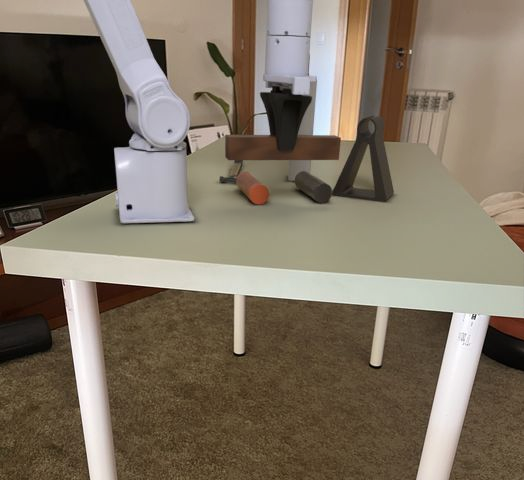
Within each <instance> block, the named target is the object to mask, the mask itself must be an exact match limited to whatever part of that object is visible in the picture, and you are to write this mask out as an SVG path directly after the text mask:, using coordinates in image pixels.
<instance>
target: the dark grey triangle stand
mask: <svg viewBox="0 0 524 480" xmlns="http://www.w3.org/2000/svg"><path fill="white" fill-rule="evenodd" d="M370 121H371V122H372V124H373V125H374V130H373V132H372V131H370V128H369V123H370ZM385 127H386V122H385V119H384V118H383V117H382V116H381V115H378V116H375V115H371V116H367V117H364V118H362V119H361V120H360V121H359V122H358V123H357V126H356V131H357V132H356V138H355V141H354V143H353V146H352V147H351V150H350V152H349V155H348V157H347V159H346V161H345V163H344V166H343V168H342V170H341V172H340V175H339V177H338V179H337V181H336V183H335V185H334V187H333V190H332V196H335V197H336V196H338V197H345V198H353V199H360V200H368V201H369V200H370V201H376V202H384V203H385V202H387V200H388V199H390V198H391V197H392V196H393V195H394V193H395V190H394V186H393V179H392V176H391V175H392V174H391V171H390V165H389V160H388V155H387V149H386V145H385V141H384V131H385ZM368 147H369V155H370V164H371V171H372V180H373V189H367V188H361V187H360V188H359V187H354V183H355V181H356V178H357V175H358V173H359V170H360V167H361V165H362V162H363V160H364V156H365V154H366V152H367V148H368Z"/></svg>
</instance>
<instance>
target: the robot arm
mask: <svg viewBox="0 0 524 480" xmlns="http://www.w3.org/2000/svg"><path fill="white" fill-rule="evenodd" d="M83 2H84V5H85V6H86V9H87V11H88V13H89V16H90V18H91V20H92V21H93V24H94V26H95V29H96V31H97V33H98V35H99V37H100V40H101V43H102V44H103V47H104V48H105V51H106V53H107V55H108V57H109V60H110V62H111V64H112V66H113V68H114V71H115V73H116V76H117V77H116V78H117V82H118V85H119V89H120V91H121V93H122V96H123V98H124V103H125V118H126V121H127V124H128V126H129V127H130V129H131V130H132V132H134V133H133V134H132V136H131V138H130V139H129V141H128V144H129V146H125V147H119V146H118V147H114V148H113V152H114V164H115V165H114V167H115V176H116V188H117V192H114V196H115V197H114V198H115V207H117V208H118V213H119V221H120V223H121V224H145V223H147V224H148V223H149V224H151V223H180V222H181V223H182V222H183V223H184V222H185V223H186V222H195V217H194V214H193V212H192V211H191V209H190V207H189V205H188V204H189V200H188V198H189V197H188V163H187V162H188V161H187V142H185V141H184V140H185V139H186V137H187V135H188V133H189V131H190V127H191V115H190V111H189V109H188V107H187V105H186V103H185V102H184V101H183V99H181V98H180V96H178V95H177V94H176V93H175V91H173V89H172V88H171V85H170V83H169V81H168V78H167V76H166V75H165V73H164V71H163V70H162V68H161V67H160V65H159V64H158V62H157V60H156V59H155V57H154V54H153V52H152V50H151V47H150V45H149V42H148V40H147V37H146V34H145V32H144V30H143V27H142V25H141V22H140V20H139V18H138V14H137V13H136V11H135V8H134V5H133V3H132V1H131V0H83ZM313 7H314V0H267V1H266V30H265V31H266V32H265V33H266V34H265V59H264V61H265V62H264V74H263V75H262V76H263V77H262V81H263V82H265V88H267V89H270V91H260V92H259V96H260V100H261V101H262V103H263V106H264V109H265V113H266V117H267V122H268V129H269V135H276V141H277V147H278V150H293V149H294V146H295V143H296V140H297V136H298V132H299V128H300V125H301V122H302V119H303V117H304V114H305V112H306V110H307V108H308V106H309V105H310V103H311V101H312V96H302V95H309V90H310V82H316V78H317V76H316V75H309V76H308V67H309V68H310V62H309V52H310V51H311V38H312V37H311V35H312V22H313V21H312V20H313Z"/></svg>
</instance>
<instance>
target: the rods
mask: <svg viewBox="0 0 524 480" xmlns="http://www.w3.org/2000/svg"><path fill="white" fill-rule="evenodd" d="M235 184H236V186H237V188H238V189H239V190H240V191H241V192H242V193H243V194H244V195H245V196H246V197H247V198H248V199H249V200H250V201H251V202H252V203H253V204H255V205H258V206H259V205H263V204H265V203H266V202H267V201H268V200H269V198H270V190H269V188H268V187H267V186H266V185H265V184H264V183H262V182H261V181H260V179H258V178H257V177H256V176H255V175H253V174H252V173H251V172H249V171H242V172H239V173H238V176H237V179H236V182H235ZM294 185H295V187H296V188H297V189H298V190H300V191H301V192H303V193H304V194H305V195H307V196H308V197H310V198H311V199H313V200H314V201H315V202H317V203H319V204H325V203H327V202H328V201H330V199H331V197H332V196H333V194H332V192H333V190H332V186H330V184H328V183H327V182H325V181H323V180H321V179H320V178H318V177H316V176H315V175H313V174H312V173H311V172H310V173H308V172H306V171H301V172H299V173H298V174H297V175H296V177H295V182H294Z"/></svg>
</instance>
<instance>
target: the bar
mask: <svg viewBox="0 0 524 480" xmlns="http://www.w3.org/2000/svg"><path fill="white" fill-rule="evenodd" d="M224 136H225V139H224V140H225V142H224V143H225V144H224V150H225V152H224V153H225V154H224V155H225V159H226V160H228V161H234V160H243V161H289V160H311V161H339V160H340V154H341V153H340V152H341V141H342V137H340V136H338V135H335V134H333V135H331V134H327V135H326V134H325V135H323V134H321V135H320V134H313V135H298V136H297V140H296V143H295V146H294V149H293V150H278V147H277V141H276V135H270V134H225V135H224Z"/></svg>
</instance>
